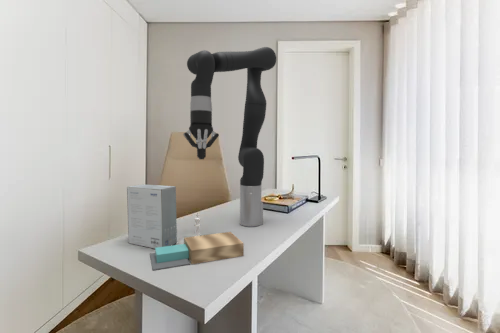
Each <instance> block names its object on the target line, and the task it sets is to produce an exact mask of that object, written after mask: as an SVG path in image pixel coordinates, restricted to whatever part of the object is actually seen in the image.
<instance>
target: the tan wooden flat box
mask: <svg viewBox="0 0 500 333" xmlns="http://www.w3.org/2000/svg"><path fill="white" fill-rule="evenodd" d="M183 244H185V245H186V246H187V248H188V250H189V258H188V261H189V263H190V265H196V264H200V263H208V262H214V261H220V260H225V259H226V260H227V259H232V258H238V257H239V258H240V257H244V251H245V250H244V249H245V248H244V246H245V244H244V242H243V241H242V240H241V239H239V238H238V237H237V236H236V235H235V234H234V233H232V232H231V231H228V232H227V231H226V232H218V233H211V234H202V235H201V236H195V235H194V236H187V237H183Z"/></svg>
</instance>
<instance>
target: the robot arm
mask: <svg viewBox="0 0 500 333" xmlns="http://www.w3.org/2000/svg"><path fill="white" fill-rule="evenodd" d="M276 64H277V54H276V52H275V50H273V48H271V47H268V46H264V47H259V48H257V49H254V50H246V51H217V52H212V53H211V52H210V51H208V50H205V49H203V50H200V51H198V52H196V53H194V54H192V55H190V57H188V59H187V61H186V66H187V69H188V71H189V72H190V73H191V74H193V75H195V78H194V79H193V80H192V82H191V83H190V104H189V105H190V107H189V109H190V117H189V118H190V119H189V120H190V125H189V127H188V130H187V131H186V132H184V133H183V134H182V135H183V137H184V138H185V139H186V140H187V142H188V143H189V144H190V145H191V147H193V148H196V157H197V158H198V160H205V158H206V156H207V150H206V149H208V148H211V147H212V145H213V144H214V142H215V141H216V140H217V138H219V137H220V136H219V135H220V134H219V133H217V132H215V130H214V127H213V118H212V117H213V115H212V114H213V113H212V112H213V106H212V105H213V104H212V103H213V102H212V83H213V80H214V75H215V73H223V72H224V73H226V72H234V71H240V70H245V69H246V70H247V71H246V72H247V74H246V76H247V77H246V78H247V79H246V80H247V82H246V94H245V103H244V109H243V110H244V111H243V121H242V123H243V124H242V136H241V141H240V146H239V150H238V151H239V152H238V155H237V158H238V163H239V164H240V166H241V167H242V168H243V169H242V175H241V177H240V180H239V185H240V186H239V224H240V225H241V226H243V227H249V228H250V227H259V226H261V225H264V203H263V201H262V181H263V178H264V172H265V171H264V170H265V169H264V168H265V157H264V154H263V152H262V150H261V149H259V148H258V141H259V140H258V139H259V135H260V133H261V131H262V128H263V125H264V122H265V119H266V112H267V100H266V96H265V94H264V91H263V89H262V83H261V80H262V73H263V72H265V71H266V72H267V71H269V70H272V69H273V68H274V67H275V65H276ZM192 136H193V137H194V139H195V141H194V140H193V138H192ZM209 137H211V138H210V139H209ZM208 139H209V140H208Z"/></svg>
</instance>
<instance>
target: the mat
mask: <svg viewBox="0 0 500 333" xmlns="http://www.w3.org/2000/svg"><path fill="white" fill-rule="evenodd" d="M149 257H150V263H151V268H152V271H159V270H166V269H171V268H178V267H183V266H184V267H185V266H189V265H191V262H190V260H189V258H187V259H181V260H174V261H168V262H161V263H157V260H156V256H155V252H153V253H149Z"/></svg>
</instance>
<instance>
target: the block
mask: <svg viewBox="0 0 500 333" xmlns="http://www.w3.org/2000/svg"><path fill="white" fill-rule="evenodd" d="M154 250H155V252H154V253H155V256H156V260H157V263H161V262H168V261H174V260H181V259H189V250H188V248H187V246H186V245H185V244H184V243H182V244H181V243H179V244H173V245H171V246H165V247H157V248H155V249H154Z"/></svg>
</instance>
